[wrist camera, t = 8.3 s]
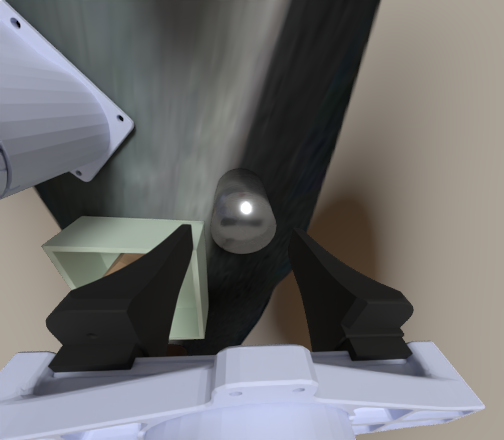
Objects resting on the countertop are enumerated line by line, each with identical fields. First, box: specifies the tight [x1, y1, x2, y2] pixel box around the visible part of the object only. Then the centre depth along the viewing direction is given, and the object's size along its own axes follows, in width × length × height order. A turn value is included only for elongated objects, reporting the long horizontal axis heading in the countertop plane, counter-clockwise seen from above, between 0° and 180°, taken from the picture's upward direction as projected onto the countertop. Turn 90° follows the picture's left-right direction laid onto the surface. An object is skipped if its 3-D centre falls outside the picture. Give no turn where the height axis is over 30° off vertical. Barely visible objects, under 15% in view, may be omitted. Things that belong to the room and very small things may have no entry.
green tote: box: [42, 216, 209, 340], centre depth 23 cm, size 17×13×5 cm
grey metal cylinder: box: [211, 168, 276, 254], centre depth 17 cm, size 5×5×7 cm
